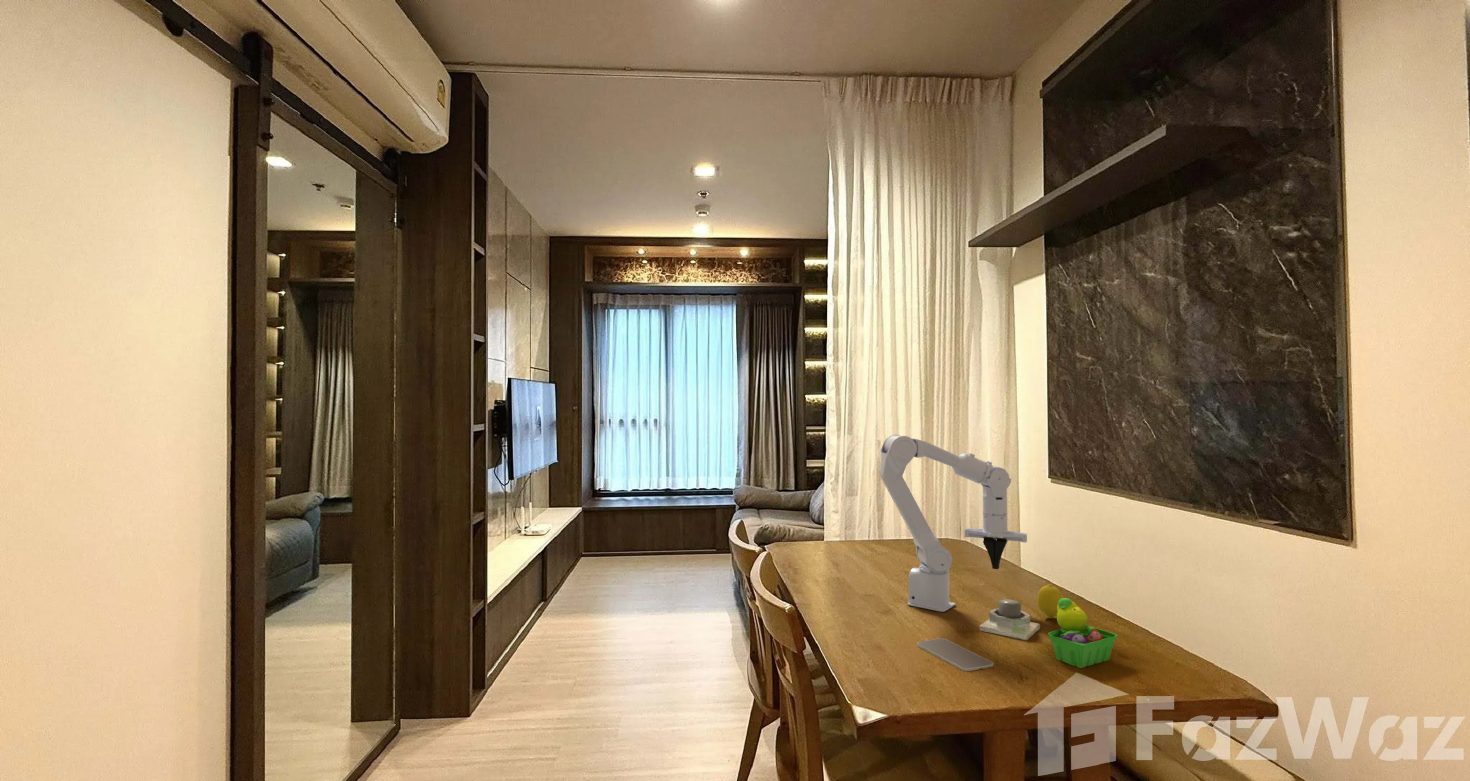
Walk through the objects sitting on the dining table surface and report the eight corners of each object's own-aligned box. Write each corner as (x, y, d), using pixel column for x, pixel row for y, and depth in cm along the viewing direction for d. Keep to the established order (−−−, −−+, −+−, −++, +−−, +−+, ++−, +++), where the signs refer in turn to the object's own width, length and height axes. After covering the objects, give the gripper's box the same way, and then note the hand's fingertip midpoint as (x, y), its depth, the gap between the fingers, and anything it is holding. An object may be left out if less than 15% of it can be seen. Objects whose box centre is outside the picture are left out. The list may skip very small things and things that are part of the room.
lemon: (1057, 615, 154) (1057, 581, 155) (1067, 622, 149) (1066, 587, 149) (1033, 614, 155) (1033, 580, 155) (1042, 621, 149) (1041, 587, 150)
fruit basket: (1082, 672, 121) (1081, 611, 121) (1041, 656, 128) (1040, 599, 129) (1119, 661, 126) (1118, 602, 126) (1077, 646, 134) (1076, 591, 134)
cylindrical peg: (995, 625, 144) (995, 601, 144) (1002, 619, 148) (1002, 597, 148) (1017, 629, 141) (1016, 606, 141) (1023, 624, 144) (1023, 601, 145)
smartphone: (965, 669, 121) (914, 642, 135) (965, 674, 121) (914, 646, 135) (996, 663, 124) (943, 637, 138) (996, 668, 124) (943, 641, 138)
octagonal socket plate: (979, 630, 144) (979, 614, 144) (994, 619, 151) (994, 604, 151) (1027, 640, 137) (1026, 623, 137) (1039, 628, 145) (1039, 612, 145)
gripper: (961, 513, 163) (962, 567, 162) (1024, 518, 155) (1025, 575, 155) (967, 510, 169) (967, 562, 168) (1027, 514, 162) (1028, 568, 161)
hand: (995, 568), depth 162 cm, fingers closed
